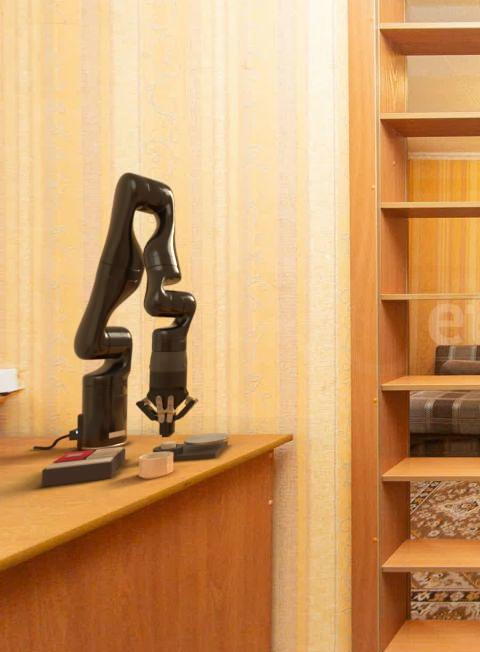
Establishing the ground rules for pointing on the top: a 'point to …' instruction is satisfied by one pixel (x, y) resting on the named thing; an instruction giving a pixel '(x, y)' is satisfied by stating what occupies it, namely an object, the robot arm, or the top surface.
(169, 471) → the bowl
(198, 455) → the grey knob plate
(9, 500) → the top surface
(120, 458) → the calculator
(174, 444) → the button
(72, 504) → the top surface
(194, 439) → the pan
